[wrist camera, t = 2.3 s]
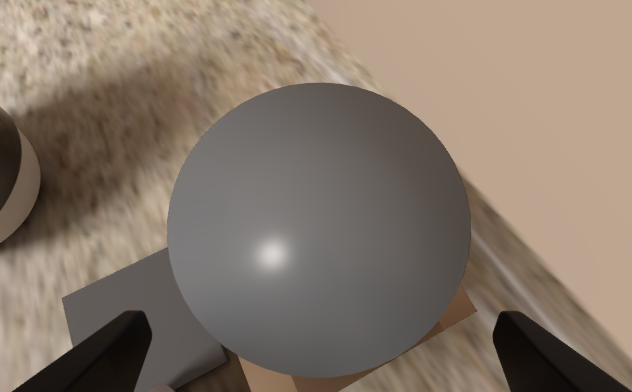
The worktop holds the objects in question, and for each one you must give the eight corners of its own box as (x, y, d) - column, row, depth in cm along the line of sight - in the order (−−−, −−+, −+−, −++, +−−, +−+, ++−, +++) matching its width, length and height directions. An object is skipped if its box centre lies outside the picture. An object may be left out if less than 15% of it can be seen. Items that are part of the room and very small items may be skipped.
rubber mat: (229, 359, 17) (226, 361, 16) (98, 430, 16) (93, 433, 15) (184, 241, 19) (181, 240, 18) (67, 298, 18) (61, 298, 17)
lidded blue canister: (398, 292, 17) (537, 275, 6) (296, 348, 17) (235, 450, 5) (344, 197, 19) (371, 45, 8) (250, 243, 18) (130, 150, 7)
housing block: (447, 309, 17) (477, 310, 14) (279, 404, 16) (266, 432, 12) (356, 158, 20) (362, 130, 17) (208, 230, 19) (183, 214, 15)
